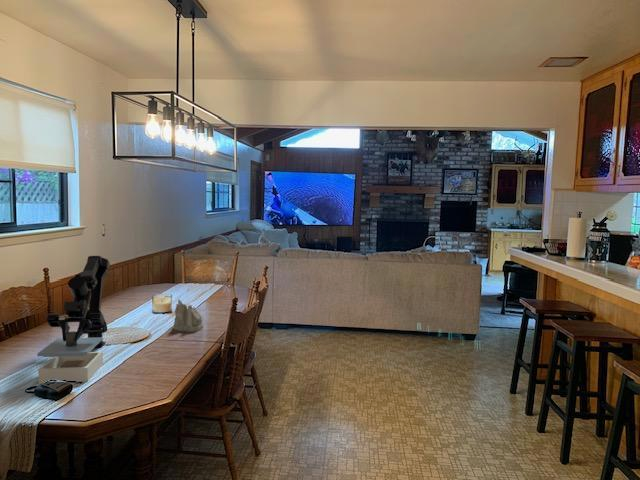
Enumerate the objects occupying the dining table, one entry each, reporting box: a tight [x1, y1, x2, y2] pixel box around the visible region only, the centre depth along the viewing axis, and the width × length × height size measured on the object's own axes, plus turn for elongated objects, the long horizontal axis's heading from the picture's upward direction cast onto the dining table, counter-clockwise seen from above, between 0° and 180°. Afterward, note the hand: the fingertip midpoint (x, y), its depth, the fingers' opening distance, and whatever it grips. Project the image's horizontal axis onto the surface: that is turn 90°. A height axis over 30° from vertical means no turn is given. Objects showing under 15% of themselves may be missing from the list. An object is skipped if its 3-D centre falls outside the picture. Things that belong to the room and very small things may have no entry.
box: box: [37, 351, 104, 384], centre depth 163 cm, size 16×16×5 cm
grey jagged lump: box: [172, 299, 205, 333], centre depth 222 cm, size 16×16×15 cm
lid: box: [36, 331, 102, 358], centre depth 162 cm, size 16×16×6 cm
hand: (69, 340), depth 160 cm, fingers closed on lid, 4 cm apart
